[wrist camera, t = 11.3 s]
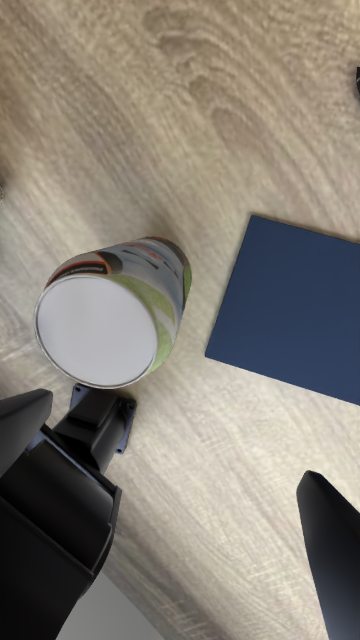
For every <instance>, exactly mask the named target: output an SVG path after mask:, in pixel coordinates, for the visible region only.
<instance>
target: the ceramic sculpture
mask: <svg viewBox="0 0 360 640" xmlns="http://www.w3.org/2000/svg"><path fill="white" fill-rule="evenodd" d="M4 199H5V195H4V192H3V189H2V188H1V187H0V204H2V203H3V201H4Z"/></svg>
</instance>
